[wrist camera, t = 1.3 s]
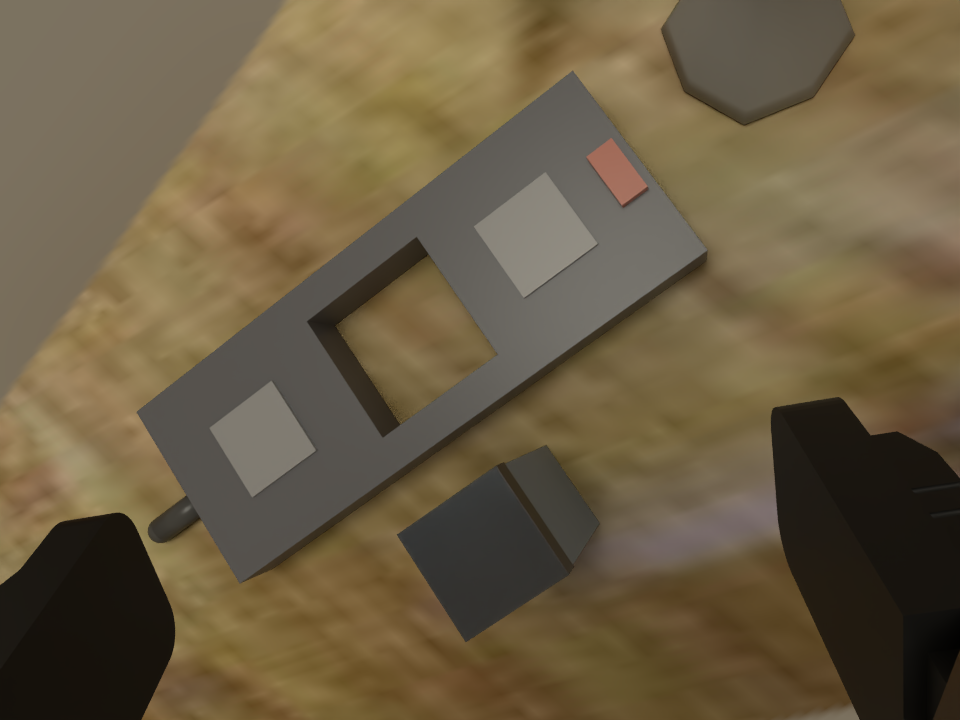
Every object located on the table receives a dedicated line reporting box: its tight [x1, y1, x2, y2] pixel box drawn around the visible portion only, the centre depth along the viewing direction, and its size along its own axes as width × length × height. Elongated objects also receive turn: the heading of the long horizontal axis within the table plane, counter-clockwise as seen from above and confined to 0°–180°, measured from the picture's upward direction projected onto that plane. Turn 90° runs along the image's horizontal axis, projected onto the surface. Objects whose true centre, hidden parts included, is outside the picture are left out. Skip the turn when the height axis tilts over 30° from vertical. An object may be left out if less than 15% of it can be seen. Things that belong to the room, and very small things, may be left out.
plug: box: [397, 445, 599, 642], centre depth 33 cm, size 4×4×10 cm
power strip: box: [137, 71, 708, 583], centre depth 38 cm, size 28×9×4 cm, turn 124°
